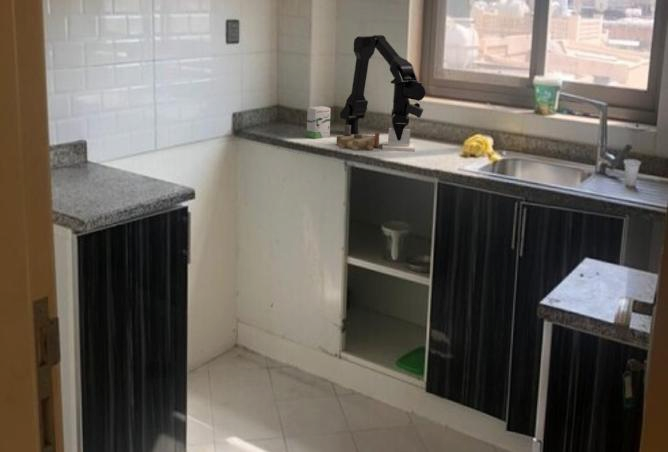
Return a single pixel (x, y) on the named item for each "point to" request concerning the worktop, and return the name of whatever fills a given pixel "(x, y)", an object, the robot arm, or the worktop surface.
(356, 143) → the sprocket
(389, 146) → the pad
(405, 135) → the marked link
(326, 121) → the ink box
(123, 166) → the worktop surface
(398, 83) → the robot arm
